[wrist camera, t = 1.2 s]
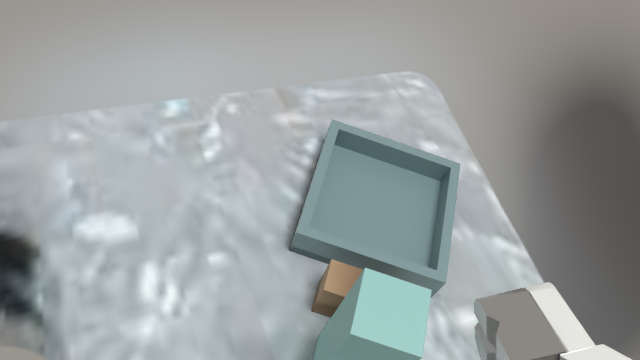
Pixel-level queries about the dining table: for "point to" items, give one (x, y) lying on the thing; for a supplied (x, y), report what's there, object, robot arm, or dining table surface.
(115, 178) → the dining table surface
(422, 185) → the tray
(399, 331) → the peg
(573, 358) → the robot arm
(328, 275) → the brown rectangular block
